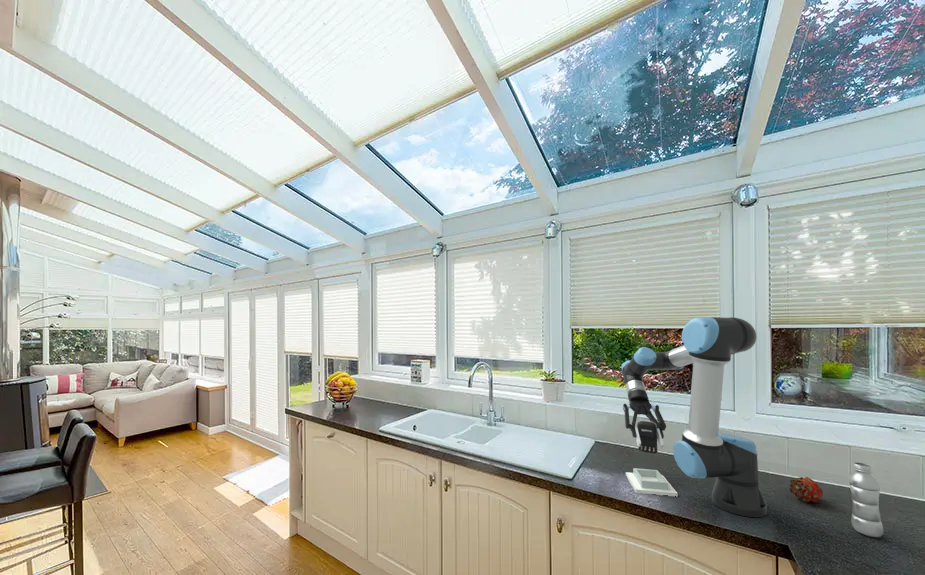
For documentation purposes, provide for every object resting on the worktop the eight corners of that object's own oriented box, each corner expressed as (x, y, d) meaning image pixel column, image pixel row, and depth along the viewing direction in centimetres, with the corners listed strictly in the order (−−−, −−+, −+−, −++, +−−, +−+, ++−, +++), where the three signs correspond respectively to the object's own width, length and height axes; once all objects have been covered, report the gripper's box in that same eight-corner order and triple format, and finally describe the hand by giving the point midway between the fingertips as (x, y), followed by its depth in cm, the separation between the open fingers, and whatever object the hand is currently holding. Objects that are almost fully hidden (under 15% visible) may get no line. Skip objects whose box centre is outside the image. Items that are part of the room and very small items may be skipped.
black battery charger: (637, 451, 144) (636, 421, 145) (638, 449, 147) (637, 419, 148) (657, 455, 140) (656, 424, 141) (658, 452, 143) (657, 421, 144)
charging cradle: (662, 478, 149) (662, 468, 149) (677, 496, 133) (677, 486, 134) (625, 475, 152) (625, 465, 152) (635, 492, 136) (635, 482, 137)
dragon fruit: (801, 510, 128) (806, 504, 135) (828, 502, 123) (831, 496, 131) (781, 484, 132) (787, 479, 140) (806, 475, 128) (811, 471, 136)
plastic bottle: (865, 527, 114) (859, 460, 116) (891, 540, 107) (885, 469, 109) (845, 528, 114) (839, 460, 116) (870, 541, 107) (864, 469, 109)
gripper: (660, 399, 158) (677, 452, 141) (610, 397, 162) (621, 448, 145) (664, 389, 154) (682, 442, 136) (613, 387, 157) (623, 439, 140)
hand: (650, 445), depth 140 cm, fingers closed on black battery charger, 7 cm apart
